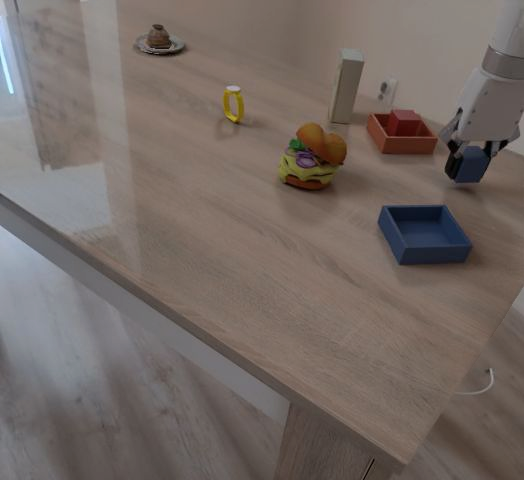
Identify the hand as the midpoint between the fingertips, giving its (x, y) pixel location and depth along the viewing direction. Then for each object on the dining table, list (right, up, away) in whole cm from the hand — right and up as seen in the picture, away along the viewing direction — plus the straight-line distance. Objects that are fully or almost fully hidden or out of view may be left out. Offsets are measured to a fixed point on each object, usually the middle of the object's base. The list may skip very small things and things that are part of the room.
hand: (463, 174), depth 85 cm
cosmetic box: (-20, +18, +16) cm, 31 cm away
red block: (-8, +12, +11) cm, 18 cm away
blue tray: (-11, -14, -11) cm, 21 cm away
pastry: (-62, +44, +34) cm, 83 cm away
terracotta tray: (-8, +11, +12) cm, 18 cm away
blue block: (0, 0, 0) cm, 0 cm away
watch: (-42, +15, +11) cm, 46 cm away
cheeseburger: (-28, -1, -1) cm, 28 cm away
